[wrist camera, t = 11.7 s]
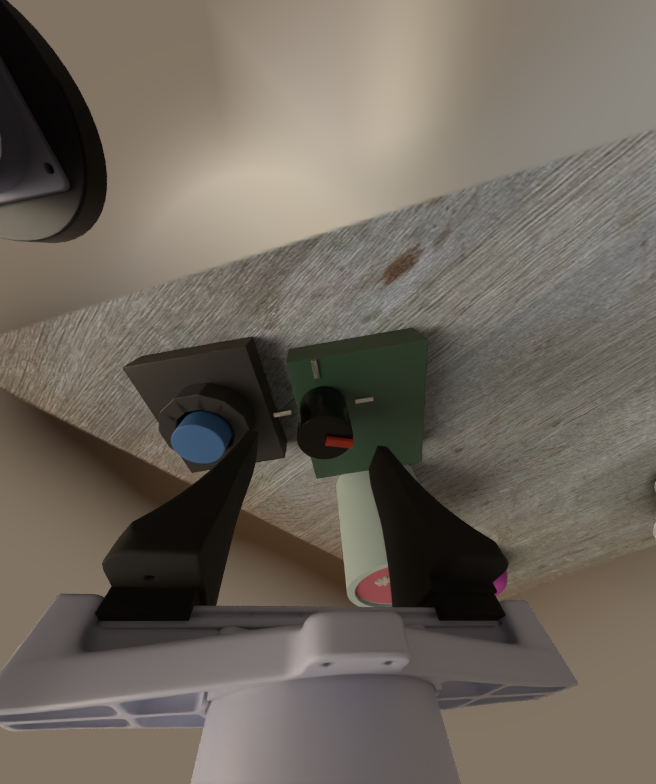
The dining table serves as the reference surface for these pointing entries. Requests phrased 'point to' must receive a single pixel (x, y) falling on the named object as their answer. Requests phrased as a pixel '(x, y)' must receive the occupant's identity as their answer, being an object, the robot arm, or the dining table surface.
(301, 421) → the knob
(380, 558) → the mug
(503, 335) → the dining table surface
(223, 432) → the plunger
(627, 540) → the dining table surface
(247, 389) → the button block
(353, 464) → the panel
